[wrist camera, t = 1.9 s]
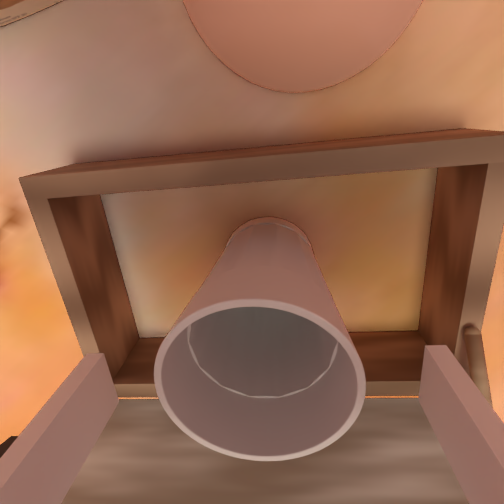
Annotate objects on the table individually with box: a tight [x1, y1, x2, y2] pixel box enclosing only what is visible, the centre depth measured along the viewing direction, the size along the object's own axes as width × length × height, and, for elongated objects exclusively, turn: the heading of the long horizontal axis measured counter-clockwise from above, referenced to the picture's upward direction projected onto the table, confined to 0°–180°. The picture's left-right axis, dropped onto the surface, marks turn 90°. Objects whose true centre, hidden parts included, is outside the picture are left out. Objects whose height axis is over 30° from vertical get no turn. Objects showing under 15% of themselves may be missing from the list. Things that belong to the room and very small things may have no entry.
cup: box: [154, 217, 366, 461], centre depth 18 cm, size 8×8×12 cm
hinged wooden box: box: [19, 128, 504, 504], centre depth 15 cm, size 19×24×20 cm
